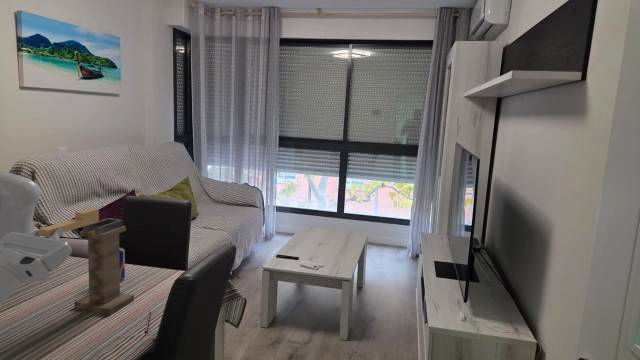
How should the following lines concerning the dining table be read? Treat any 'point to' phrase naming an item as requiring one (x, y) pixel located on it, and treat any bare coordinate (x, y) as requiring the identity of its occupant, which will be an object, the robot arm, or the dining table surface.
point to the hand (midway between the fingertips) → (54, 228)
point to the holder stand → (104, 268)
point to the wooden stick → (73, 222)
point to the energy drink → (122, 263)
